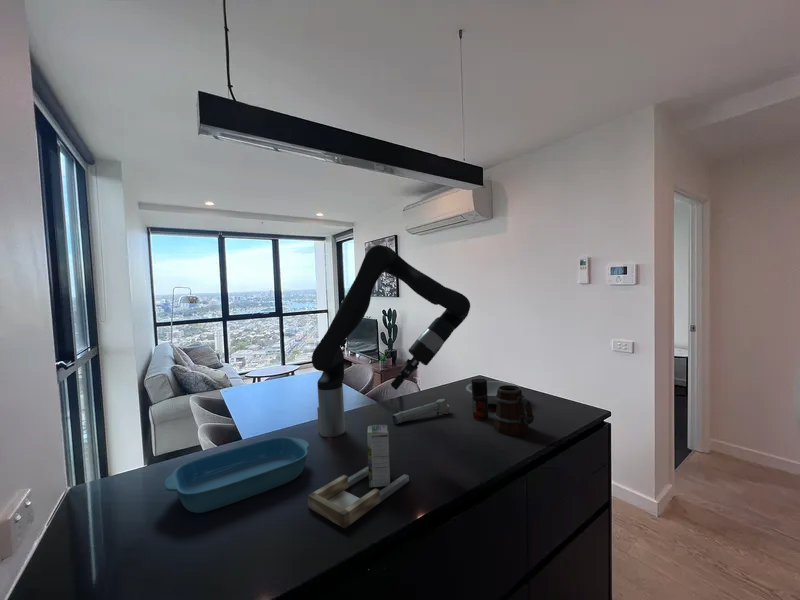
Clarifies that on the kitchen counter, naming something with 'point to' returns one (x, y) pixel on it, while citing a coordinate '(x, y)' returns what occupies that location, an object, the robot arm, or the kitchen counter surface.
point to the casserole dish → (237, 473)
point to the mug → (512, 411)
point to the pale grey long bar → (421, 411)
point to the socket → (341, 502)
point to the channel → (384, 492)
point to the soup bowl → (491, 389)
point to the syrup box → (378, 456)
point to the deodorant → (480, 399)
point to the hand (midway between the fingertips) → (393, 387)
